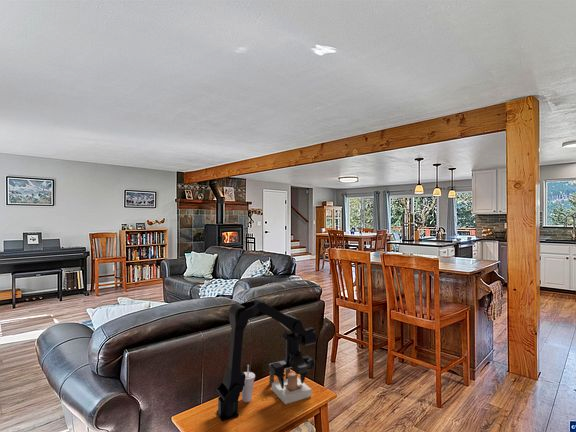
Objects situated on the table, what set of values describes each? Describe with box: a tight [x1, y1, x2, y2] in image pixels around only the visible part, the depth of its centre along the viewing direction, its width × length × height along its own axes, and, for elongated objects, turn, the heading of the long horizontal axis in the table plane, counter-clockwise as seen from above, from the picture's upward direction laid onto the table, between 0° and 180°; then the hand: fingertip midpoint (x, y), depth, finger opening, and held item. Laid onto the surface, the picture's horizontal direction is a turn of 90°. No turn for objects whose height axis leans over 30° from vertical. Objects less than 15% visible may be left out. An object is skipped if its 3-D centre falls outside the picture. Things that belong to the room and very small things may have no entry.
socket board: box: [271, 376, 312, 405], centre depth 138 cm, size 12×12×3 cm
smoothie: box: [240, 364, 256, 403], centre depth 133 cm, size 6×6×14 cm
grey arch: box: [268, 360, 291, 386], centre depth 146 cm, size 10×4×9 cm, turn 118°
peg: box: [287, 372, 298, 392], centre depth 137 cm, size 4×4×8 cm
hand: (292, 385), depth 137 cm, fingers open, 9 cm apart
